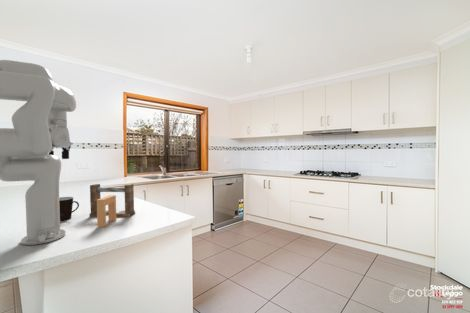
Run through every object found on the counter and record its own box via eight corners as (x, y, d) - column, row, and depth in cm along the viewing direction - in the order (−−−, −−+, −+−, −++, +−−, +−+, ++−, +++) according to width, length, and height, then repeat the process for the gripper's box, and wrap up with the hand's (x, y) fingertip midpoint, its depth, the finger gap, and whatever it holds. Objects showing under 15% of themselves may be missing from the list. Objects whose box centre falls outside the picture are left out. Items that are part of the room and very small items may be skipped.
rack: (135, 213, 114) (134, 183, 114) (129, 217, 108) (128, 185, 108) (97, 213, 115) (96, 183, 115) (89, 216, 109) (88, 185, 109)
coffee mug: (47, 220, 104) (46, 199, 103) (68, 215, 111) (67, 196, 111) (60, 224, 98) (59, 202, 98) (81, 219, 106) (80, 198, 105)
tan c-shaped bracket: (116, 220, 104) (115, 195, 103) (104, 227, 95) (103, 199, 94) (110, 220, 104) (109, 195, 103) (97, 226, 95) (96, 199, 94)
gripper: (50, 121, 99) (51, 159, 99) (77, 126, 116) (78, 158, 116) (33, 121, 99) (34, 159, 99) (62, 126, 116) (63, 158, 116)
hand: (58, 159), depth 107 cm, fingers open, 9 cm apart
